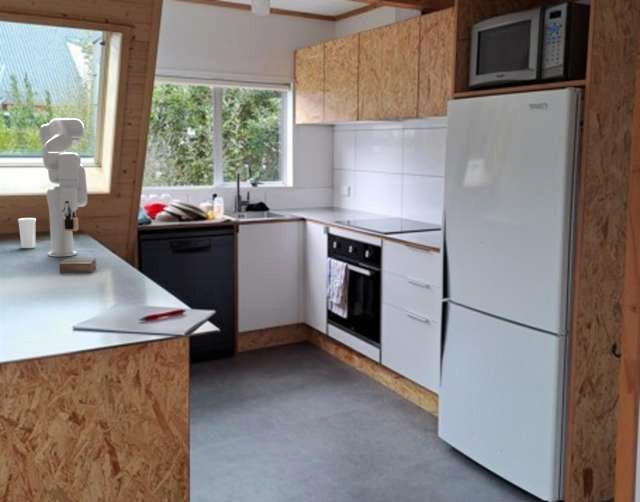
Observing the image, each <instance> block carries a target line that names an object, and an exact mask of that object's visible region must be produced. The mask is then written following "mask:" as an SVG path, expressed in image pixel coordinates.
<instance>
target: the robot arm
mask: <svg viewBox="0 0 640 502" xmlns="http://www.w3.org/2000/svg"><path fill="white" fill-rule="evenodd" d="M84 135H85V127H84V123H83V122H82V121H81V120H80V119H79V118H69V117H68V118H67V117H66V118H65V117H64V118H63V117H62V118H60V117H58V118H57V117H56V118H53V119H51V120H50V121H49V123H45V124H42V125H41V126H40V128H39V138H40V140H41V141H40V142H41V145H42V146H43V147H42V153H41V155H42V161H43V162H42V163H43V166H44V168H45V169H46V170H47V172H48V179H49V182H50V183H52V184H55V185H58V186H53V187H49V188H48V189H47V191H46V201H47V206H48V211H49V212H48V213H49V230H50V231H49V232H50V233H49V234H50V249H51V250H50V251H48V252H47V255H48V256H49V257H56V258H58V257H59V258H61V257H62V258H63V257H64V258H65V257H72V256H76V255H77V254H78V252H77V250H74V237H73V235H74V234H73V232H74V231H63V218H65V229H74V227H73V219H72V217H77V212H76V211H77V210H78V208H82V207H85V206H87V204H88V188H87V187H88V186H87V177H86V175H87V174H86V170H85V167H84V165H83V164H81V156H80V155H79V154H78V153H77V152H74V151H68V150H69V149H71V148H72V146H73V144H75V143H76V144H77V143H79V142H81V140H82V139H83V137H84Z"/></svg>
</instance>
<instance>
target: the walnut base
mask: <svg viewBox="0 0 640 502" xmlns="http://www.w3.org/2000/svg"><path fill="white" fill-rule="evenodd" d="M96 261H97V260H96V258H95V257H91V258H88V257H87V258H85V257H83V258H82V257H81V258H79V257H77V258H73V257H72V258H71V257H70V258H67V257H66V258H65V259H63V260H62V261H61V262H60V263H59V265H58V266H59V274H60V273H74V274H92V273H93V271H94V270H96V268H97V262H96Z"/></svg>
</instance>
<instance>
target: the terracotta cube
mask: <svg viewBox="0 0 640 502" xmlns="http://www.w3.org/2000/svg"><path fill="white" fill-rule="evenodd" d="M72 219H73V227H74V229H65V218H63V231H72V232H77V231H78V230H79V229H80V228H79V217H77V216H76V217H72Z"/></svg>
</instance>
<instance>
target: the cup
mask: <svg viewBox="0 0 640 502" xmlns="http://www.w3.org/2000/svg"><path fill="white" fill-rule="evenodd" d="M17 222H18V226H19V236H20V245H21V248H22V249H34V248H36V222H37V218H35V217H22V218H18V219H17Z"/></svg>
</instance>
